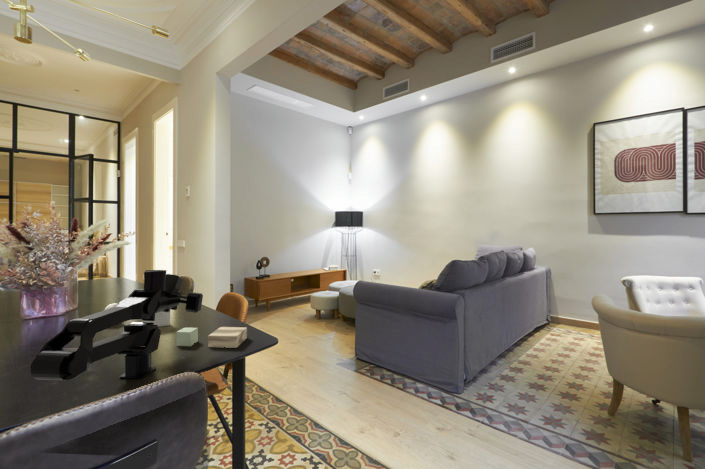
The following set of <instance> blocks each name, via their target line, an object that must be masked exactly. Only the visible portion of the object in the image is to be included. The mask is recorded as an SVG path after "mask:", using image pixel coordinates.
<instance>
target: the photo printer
mask: <svg viewBox="0 0 705 469" xmlns="http://www.w3.org/2000/svg"><path fill="white" fill-rule="evenodd" d="M141 322H146V323H154V324H153V325H158V328H159V327H160V328H161V327H166V326H170V325H171V311H170V312H158V313H155V320H154V321H143V320H142V319H141Z"/></svg>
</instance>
